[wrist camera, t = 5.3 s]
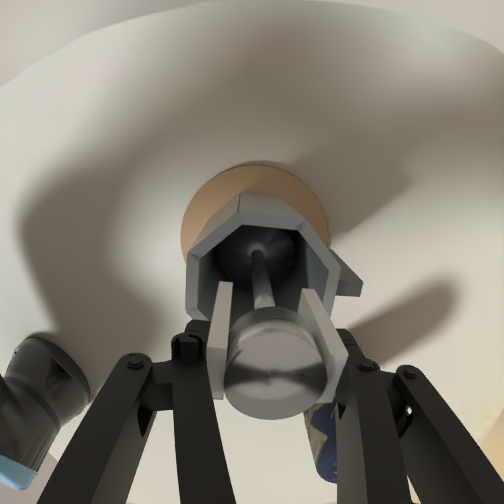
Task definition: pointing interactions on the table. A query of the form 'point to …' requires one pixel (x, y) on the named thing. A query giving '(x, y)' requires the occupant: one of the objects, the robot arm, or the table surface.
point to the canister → (323, 438)
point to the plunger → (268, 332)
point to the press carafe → (267, 215)
